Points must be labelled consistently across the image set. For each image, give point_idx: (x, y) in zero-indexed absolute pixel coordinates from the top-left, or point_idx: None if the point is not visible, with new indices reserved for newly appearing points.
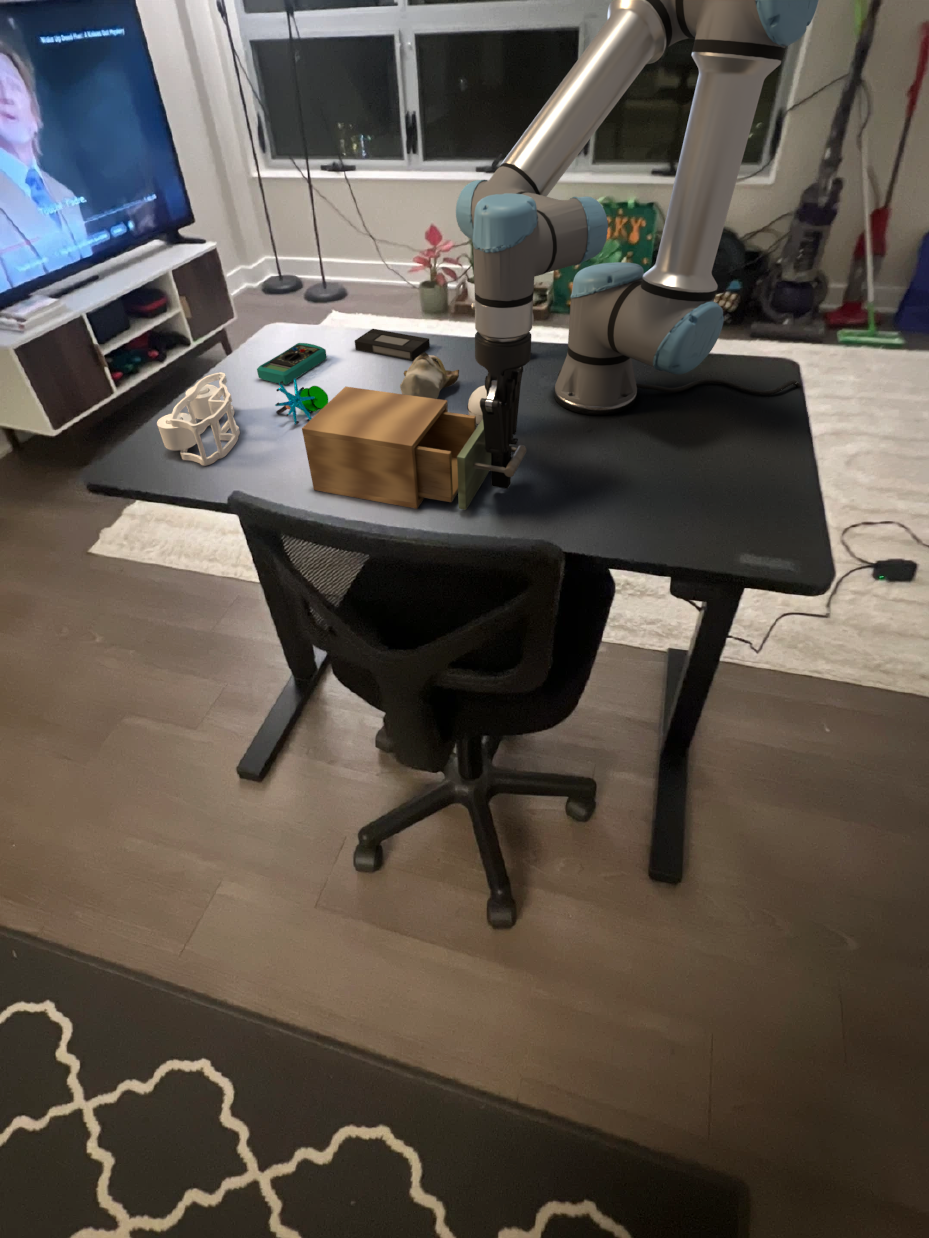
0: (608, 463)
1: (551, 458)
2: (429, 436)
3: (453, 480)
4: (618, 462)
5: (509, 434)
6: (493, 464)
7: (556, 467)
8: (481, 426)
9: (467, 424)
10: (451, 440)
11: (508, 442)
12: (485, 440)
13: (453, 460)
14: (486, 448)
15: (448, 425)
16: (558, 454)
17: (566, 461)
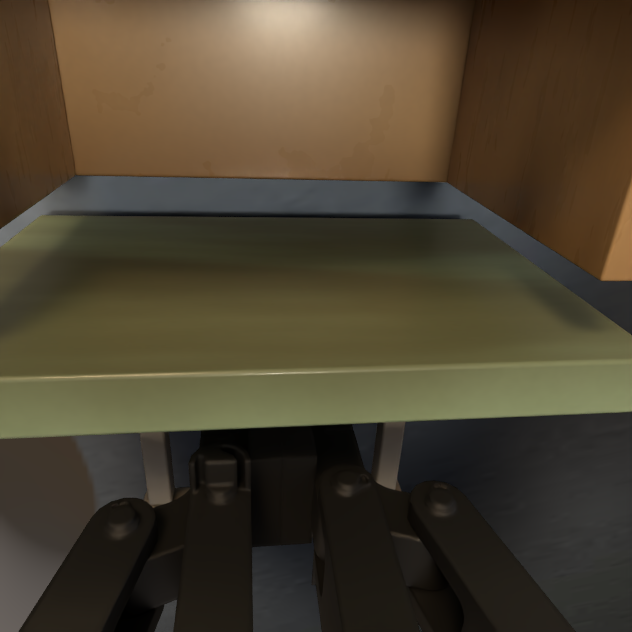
0: (538, 559)
1: (563, 419)
2: None
3: (221, 127)
4: (545, 577)
5: (319, 610)
6: (202, 430)
7: (503, 447)
8: (435, 397)
9: (577, 197)
10: (526, 26)
11: (314, 548)
12: (24, 625)
13: (436, 53)
14: (81, 542)
15: None
16: (592, 431)
17: (545, 464)
